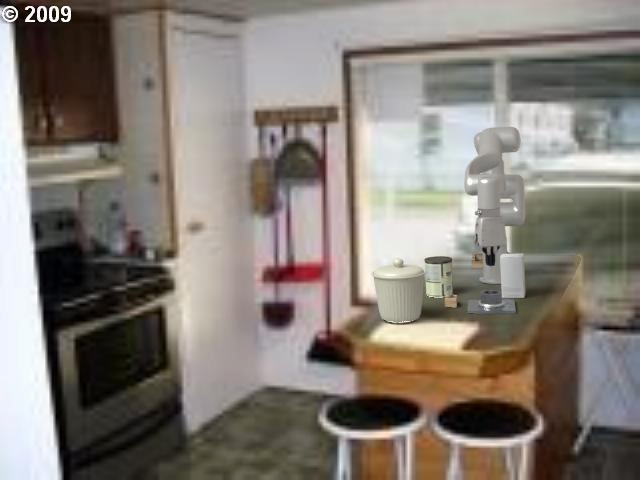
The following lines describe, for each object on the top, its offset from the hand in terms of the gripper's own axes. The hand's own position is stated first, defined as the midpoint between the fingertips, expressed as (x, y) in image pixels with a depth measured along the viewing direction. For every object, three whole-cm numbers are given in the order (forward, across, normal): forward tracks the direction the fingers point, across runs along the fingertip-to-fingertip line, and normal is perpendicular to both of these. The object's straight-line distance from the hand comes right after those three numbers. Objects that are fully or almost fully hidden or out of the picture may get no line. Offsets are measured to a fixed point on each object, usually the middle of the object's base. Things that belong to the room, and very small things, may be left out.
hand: (490, 265), depth 274 cm
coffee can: (+16, -7, +26) cm, 31 cm away
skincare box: (+16, +15, +10) cm, 24 cm away
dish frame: (+18, +41, +67) cm, 81 cm away
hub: (+15, -1, -1) cm, 15 cm away
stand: (+15, -11, +9) cm, 21 cm away
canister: (+15, -35, 0) cm, 38 cm away
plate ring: (+13, -1, -1) cm, 13 cm away
